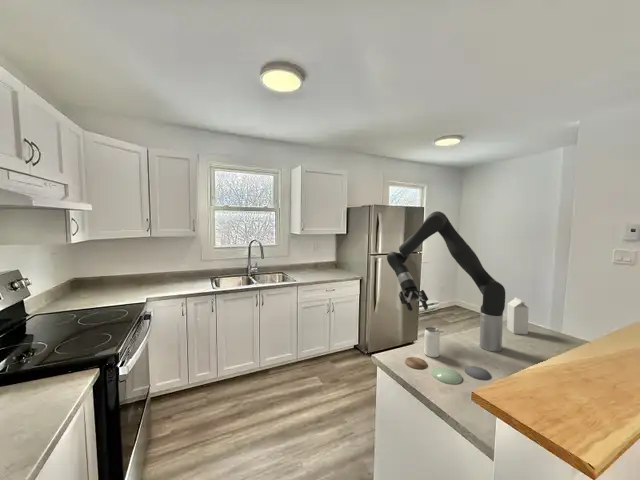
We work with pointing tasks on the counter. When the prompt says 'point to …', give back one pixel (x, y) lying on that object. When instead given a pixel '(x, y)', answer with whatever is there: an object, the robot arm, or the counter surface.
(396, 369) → the counter surface
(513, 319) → the milk carton
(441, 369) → the sage coaster
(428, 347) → the can
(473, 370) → the charcoal coaster
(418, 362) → the walnut coaster
